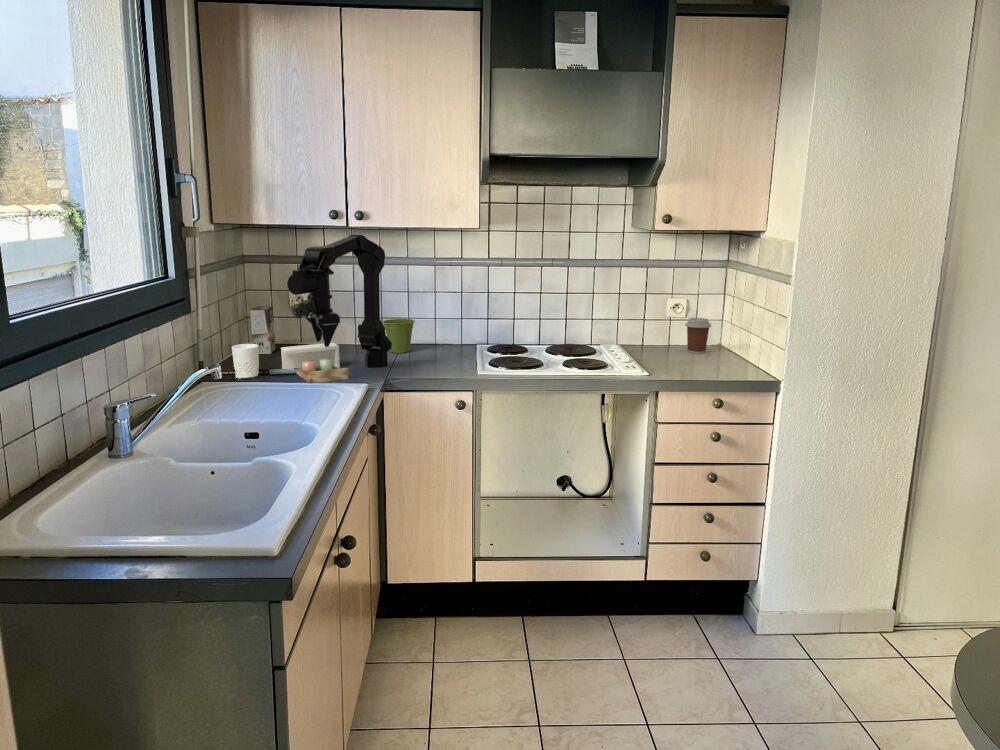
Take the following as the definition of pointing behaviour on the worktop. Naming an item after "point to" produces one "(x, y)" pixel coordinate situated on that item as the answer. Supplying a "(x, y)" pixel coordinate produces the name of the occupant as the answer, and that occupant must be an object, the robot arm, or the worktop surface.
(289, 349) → the shelf
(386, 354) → the robot arm
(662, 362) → the worktop surface
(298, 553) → the worktop surface
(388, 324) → the plant pot
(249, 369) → the white cup
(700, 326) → the coffee cup
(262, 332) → the coffee box
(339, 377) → the tray
